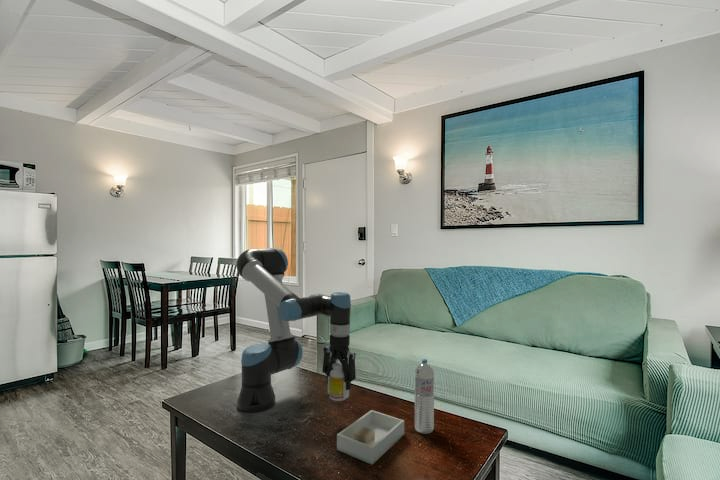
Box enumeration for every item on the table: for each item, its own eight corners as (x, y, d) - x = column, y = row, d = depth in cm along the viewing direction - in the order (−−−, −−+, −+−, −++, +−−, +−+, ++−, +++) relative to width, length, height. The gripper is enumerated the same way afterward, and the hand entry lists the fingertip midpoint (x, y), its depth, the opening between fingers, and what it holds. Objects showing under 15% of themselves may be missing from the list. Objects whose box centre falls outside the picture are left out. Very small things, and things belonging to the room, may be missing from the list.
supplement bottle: (344, 402, 135) (345, 368, 135) (327, 400, 137) (327, 366, 136) (348, 394, 142) (349, 361, 141) (332, 392, 143) (332, 360, 143)
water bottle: (435, 426, 134) (435, 358, 134) (432, 436, 128) (432, 364, 128) (416, 423, 137) (416, 355, 136) (412, 432, 130) (413, 361, 130)
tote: (336, 449, 119) (336, 434, 119) (371, 423, 136) (371, 409, 136) (372, 464, 112) (372, 448, 112) (404, 434, 129) (404, 420, 129)
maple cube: (353, 448, 119) (353, 432, 119) (362, 441, 123) (362, 426, 123) (366, 453, 116) (366, 437, 116) (374, 446, 120) (374, 430, 120)
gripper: (313, 331, 141) (311, 391, 142) (355, 341, 130) (353, 406, 130) (325, 327, 147) (324, 384, 148) (367, 337, 136) (365, 398, 137)
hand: (338, 394), depth 139 cm, fingers closed on supplement bottle, 7 cm apart
